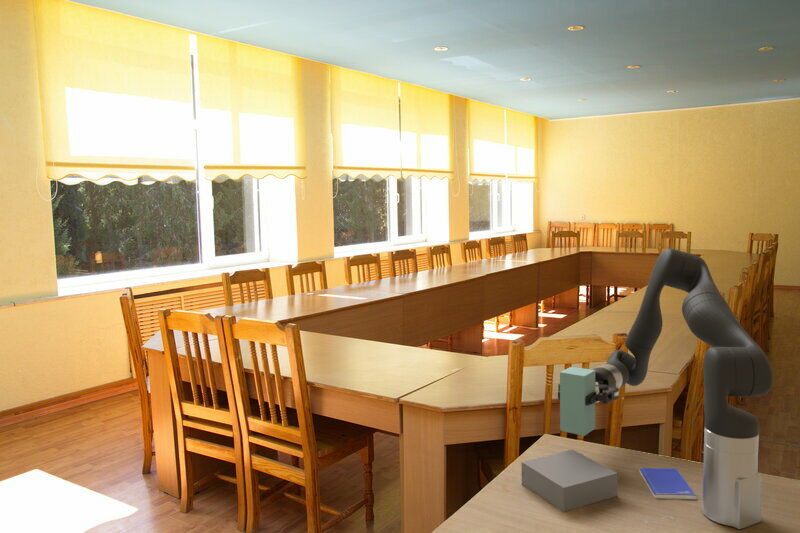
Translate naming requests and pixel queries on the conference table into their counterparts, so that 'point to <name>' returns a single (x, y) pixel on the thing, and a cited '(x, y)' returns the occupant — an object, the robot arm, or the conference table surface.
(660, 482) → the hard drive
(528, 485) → the podium
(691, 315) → the robot arm
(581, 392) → the carton
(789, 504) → the conference table surface
